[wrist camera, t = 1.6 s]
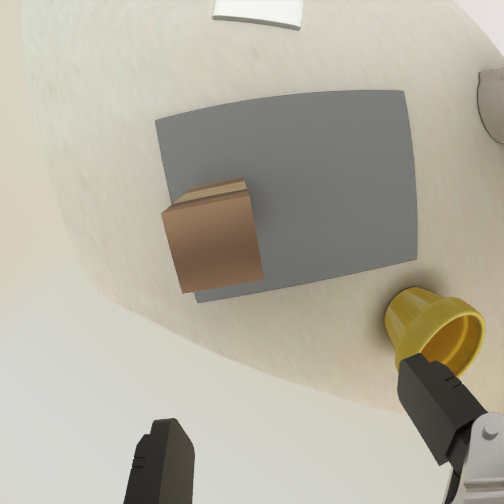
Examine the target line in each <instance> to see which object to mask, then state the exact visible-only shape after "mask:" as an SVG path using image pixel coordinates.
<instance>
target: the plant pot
mask: <svg viewBox="0 0 504 504" xmlns="http://www.w3.org/2000/svg"><path fill="white" fill-rule="evenodd" d="M384 322H385V327H386V329H387V332H388V334H389V337H390V339H391V342H392V344H393V347H394V350H395V365H396V368H397V371H398V373H399V363H400V361H401V360H403V359H405V358H408V357H410V356H412V355H415V354H417V353H421V354H422V355H423V356H424V357H425V358H426V359H427V360H428V361H429V362H433V361H435V360H436V361H438V362H440V363H442V364H444V365H446V366H448V368H449V369H450V370H451V371H452V372H453V373H454V374H455V377H457V378H459V377H460V376H461V375H462V374H463V373H464V372H465V371H466V370H467V369H468V368H469V367H470V365H471V364H472V363H473V361H474V360H475V358H476V356H477V355H478V353H479V351H480V349H481V346H482V344H483V341H484V336H485V322H484V319H483V317H482V315H481V314H480V313H479V312H478V311H476V310H475V309H474V308H473V307H471V306H470V305H469V304H467V303H466V302H464V301H463V300H461V299H459V298H455V297H448V298H445V297H442V296H440V295H437V294H434V293H432V292H429V291H427V290H425V289H422V288H418V287H412V288H408V289H405V290H403V291H402V292H400V293H399V294H398V295H397V296H395V297H394V299H393V300H392V301H391V302H390V304H389V306H388V307H387V310H386V313H385V317H384Z"/></svg>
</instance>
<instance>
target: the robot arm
mask: <svg viewBox="0 0 504 504" xmlns="http://www.w3.org/2000/svg"><path fill="white" fill-rule="evenodd" d="M479 75H480V84H479V88H478V105H479V111H480V114H481V118H482V120H483V123H484V125H485V127H486V129H487V131H488V132H489V134H490V135H491V136H492V137H493V138H494V139H495V140H496V141H497V142H499V143H503V144H504V68H502V69H496V70H490V71H485V72H480V73H479ZM397 391H398V396H399V400H400V402H401V404H402V405H403V407H404V409H405V410H406V412H407V413H408V415H409V417H410V418H411V420H412V421H413V423H414V425H415V426H416V428H417V429H418V431H419V433H420V434H421V436H422V438H423V439H424V441H425V443H426V444H427V446H428V448H429V449H430V451H431V452H432V454H433V456H434V458H435V460H436V461H437V463H438V465H439V466H440V465H442V464H444V463H446V462H448V461H449V462H450V463H451V465H452V468H451V471H450V475H449V480H448V484H447V488H446V492H445V495H444V499H443V502H442V504H504V416H503V415H501V414H499V413H495V412H491V413H489V412H487V411H486V410H485V409H484V408H483V407H482V405H481V404H480V403H479V402H478V401H477V399H476V398H475V397H474V396H473V395H472V394H471V392H470V391H469V390H468V389H467V388H466V387H465V386H464V384H462V382H461V381H460V380H459V379H458V378H457V377H455V374H454V373H453V372H452V371H451V370H450V369H449V368H448V366H446V365H444V364H442V363H440V362H438V361H436V360H435V361H433V362H429V361H428V360H427V359H426V358H425V357H424V356H423V355H422V354H421V353H417V354H415V355H412V356H410V357H408V358H405V359H403V360H401V361H400V363H399V375H398V387H397ZM194 460H195V452H194V447H193V444H192V442H191V440H190V439H189V437H188V436H187V434H186V433H185V431H184V430H183V428H182V427H181V425H180V424H179V422H178V421H177V420H176V419H175V418H170V419H160V420H154V422H153V424H152V428H151V433H150V434H145V435H144V436H143V437H142V439H141V440H140V441H139V443H138V444H137V446H136V450H135V454H134V459H133V463H132V469H131V472H130V476H129V481H128V485H127V490H126V495H125V500H124V503H123V504H192V495H193V477H194Z"/></svg>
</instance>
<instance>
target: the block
mask: <svg viewBox="0 0 504 504" xmlns="http://www.w3.org/2000/svg"><path fill="white" fill-rule="evenodd" d="M161 215H162V219H163V223H164V227H165V231H166V235H167V239H168V243H169V247H170V250H171V254H172V258H173V262H174V265H175V269H176V272H177V276H178V279H179V283H180V286H181V290H182V293H189V292H195V291H201V290H207V289H213V288H219V287H225V286H230V285H236V284H241V283H247V282H253V281H258V280H263V279H264V274H263V269H262V263H261V257H260V252H259V246H258V240H257V235H256V229H255V224H254V218H253V212H252V207H251V201H250V196H249V193H248V190H247V187H246V184H245V181H244V178H243V177H240V178H235V179H229V180H224V181H219V182H214V183H209V184H204V185H200V186H195V187H192V188H191V189H190V190H189V191H187V192H186V193H185V194H184V195H183V196H181V197H180V198H179V199H178V200H177V201H175V202H174V203H173V204H172V205H171V206H170V207H168V208H167V209H166V210H165V211H164V212H163V213H161Z"/></svg>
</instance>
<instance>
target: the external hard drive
mask: <svg viewBox="0 0 504 504" xmlns="http://www.w3.org/2000/svg"><path fill="white" fill-rule="evenodd" d="M303 3H304V0H216V1H215V5H214V9H213V14H212V18H213V19H214V20H228V21H239V22H249V23H257V24H264V25H271V26H277V27H283V28H289V29H294V30H300V28H301V21H302V12H303Z"/></svg>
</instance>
